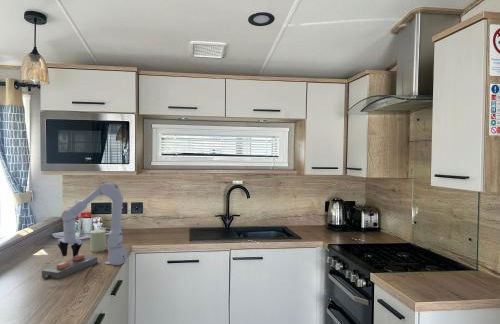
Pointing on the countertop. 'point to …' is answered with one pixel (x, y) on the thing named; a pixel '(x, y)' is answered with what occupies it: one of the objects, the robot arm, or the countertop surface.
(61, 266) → the switch
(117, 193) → the robot arm
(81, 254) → the switch
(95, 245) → the can
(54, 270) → the power strip
